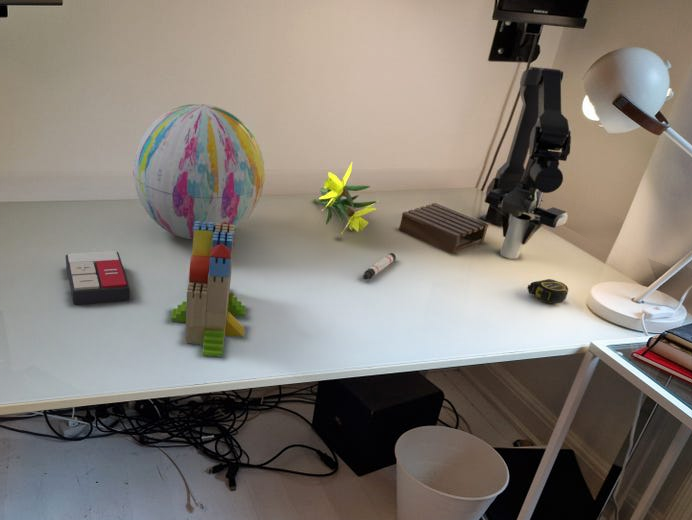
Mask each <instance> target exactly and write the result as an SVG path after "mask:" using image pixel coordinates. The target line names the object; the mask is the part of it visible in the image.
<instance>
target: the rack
mask: <svg viewBox="0 0 692 520" xmlns="http://www.w3.org/2000/svg"><path fill="white" fill-rule="evenodd" d="M489 227H490V224H489V223H488V222H487V223H486V222H484V221H483V220H482V221H481V220H479V219H478V218H477V219H476V218H475V217H474V218H473V217H472V216H469V215H466V214H464V213H463V212H462V213H461V212H459V211H456V210H454V209H451V208H449V207H446V206H444V205H441V204H439V203H436V202H433V203H431V204H426V205H424V206H420V207H416V208H414V209H409V210H408V211H403V212H402V213H401V219H400V223H399V228H398V231H400V232H402V233H404V234H407V235H409V236H411V237H413V238H415V239H417V240H419V241H422V242H424V243H426V244H429V245H431V246H433V247H435V248H438V249H440V250H442V251H444V252H447V253H448V254H451V255H455V254H456V253H457V251H460V250H463V249H465V248H468V247H471V246H474V245H476V244H483V243H484V240H485V237H486V234H487V231H488V228H489ZM461 237H464V238H466V239H469V240H470V241H467V242H465V243H461V244H459V241H460V238H461Z"/></svg>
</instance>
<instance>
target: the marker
mask: <svg viewBox="0 0 692 520" xmlns="http://www.w3.org/2000/svg"><path fill="white" fill-rule="evenodd" d="M396 259H397V256H396V254H395V253H394V252H390V253H388V254H387V255H385V256H384V257H382V258H381V259H380V260H378V261H377V262H376V263H374V264H373V265H371V266H370V267H369V268H368V269H367V270H365V271H364V273H363V275H362V279H363V280H370V279H372V278H374V277H375V276H377V274H379V273H380V272H381V271H382V270H384V269H385V268H386V267H388V266H389V265H390V264H392V263H393V262H394V261H396Z"/></svg>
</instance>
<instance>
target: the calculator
mask: <svg viewBox="0 0 692 520" xmlns="http://www.w3.org/2000/svg"><path fill="white" fill-rule="evenodd" d="M65 267H66V274H67V278H68V284H69V289H70V295H71V299H72V300H71V301H72V304H73V305H85V304H99V303H100V304H101V303H112V302H121V301H122V302H123V301H124V302H125V301H130V297H131V296H130V291H131V290H130V285H129V281H128V278H127V275H126V272H125V269H124V266H123V262H122V260H121V256H120V253H119V252H118V251H116V250H115V251H113V250H111V251H93V252H77V253H76V252H75V253H68V254H65Z"/></svg>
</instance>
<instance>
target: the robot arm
mask: <svg viewBox="0 0 692 520" xmlns="http://www.w3.org/2000/svg"><path fill="white" fill-rule="evenodd" d="M563 78H564V71H563V70H561V69H557V68H549V67H537V66H530V67H528V69H526V70H524V71H523V72H522V73H521V77H520V80H519V86H520V89H519V94H520V95H519V96H520V99H521V102H522V106H521V110H520V112H519V116H518V119H517V123H516V127H515V131H514V134H513V138H512V141H511V145H510V147H509V151H508V155H507V159H506V161H505V162H504V163H503V164H502V165H501V166H500V168H498V169H497V171H496V174H495V176H494V177H493V178H492V179H491V181H490V183H489V184H488V186H487V188H486V192H485V198H484V203H485V204H488V208H487V211H486V214H484V215H482V216H480V217H479V219H480V220H482V221H485V222H487V223H490V224H492V225H494V226H497V227H502V237H503V238H505V236H506V233H507V230H508V227H509V224H510V221H511V218H512V215H513V216H515V217H518V216H520V215H522V213H523V214H527V215H530V214H531V215H533V216H534V218H532V220H529V227H528V229H527V231H526V234H525V236H524V239H523V242H522V244H523V246H524V245H526V244H527V243H528V242H529V241H530V240H531V238H532V237H533V236H534V235H535V234H536V233H537V232H538V231H539V229H540V228H542V227H543V226H546V227H548V228H549V227H550V228H554V229H556V228H558V227H561V226H564V225H565V224H566V223H567V220H568V218H569V215H568V212H567V211H565V210H562V209H560V208H557V207H554V206H552V207H550V208H547V209H545V208H542V207H541V206H542V205H543V204H544V200H543V197H544V194H548V193H553V192H555V191H557V190H558V189H559V188H560V187H561V186H562V184H563V182H564V175H563V172H562V170H561V169H560V168H559V165H560V162H559V161H561V162H567V160H568V157H569V155H570V153H571V144H572V136H571V130H570V126H569V120H568V119H567V117H566V116H564V115H563V114H562V113H563V112H562V81H563ZM528 154H529V156H528ZM527 157H528V159H527ZM526 160H527V162H526ZM525 164H526V165H525Z"/></svg>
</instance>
